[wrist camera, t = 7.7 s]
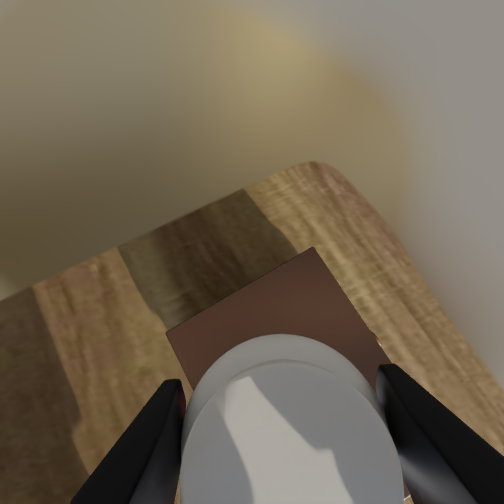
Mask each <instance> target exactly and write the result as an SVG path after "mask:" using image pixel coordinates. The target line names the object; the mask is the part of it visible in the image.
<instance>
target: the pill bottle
mask: <svg viewBox="0 0 504 504" xmlns="http://www.w3.org/2000/svg"><path fill="white" fill-rule="evenodd" d="M180 502H181V504H404V484H403V475H402V469H401V465H400V461H399V456H398V453H397V450H396V447H395V445H394V442H393V440H392V437H391V435H390V432H389V428H388V423H387V420H386V417H385V414H384V411H383V409H382V406H381V404H380V402H379V400H378V398H377V396H376V394H375V392H374V390H373V389H372V387H371V386H370V384H369V383H368V381H367V380H366V379H365V378H364V376H363V375H362V374H361V373H360V372H359V370H358V369H357V368H356V367H355V366H354V365H353V364H352V363H351V362H350V361H349V360H348V359H346V358H345V357H344V356H343V355H341V354H340V353H338V352H337V351H336V350H334V349H333V348H331V347H329V346H327V345H325V344H323V343H321V342H319V341H316V340H314V339H310V338H307V337H303V336H298V335H290V334H273V335H265V336H260V337H257V338H253V339H250V340H248V341H245V342H243V343H241V344H239V345H237V346H235V347H234V348H232V349H231V350H229V351H228V352H226V353H225V354H224V355H222V356H221V357H220V358H219V359H218V360H217V361H216V362H215V363H214V364H213V365H212V366H211V367H210V368H209V369H208V370H207V372H206V373H205V374H204V376H203V377H202V378H201V380H200V381H199V383H198V385H197V387H196V388H195V390H194V392H193V394H192V396H191V399H190V401H189V404H188V407H187V410H186V413H185V416H184V421H183V426H182V434H181V469H180Z"/></svg>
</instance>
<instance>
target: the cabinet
mask: <svg viewBox="0 0 504 504" xmlns="http://www.w3.org/2000/svg"><path fill="white" fill-rule="evenodd" d="M273 334H290V335H298V336H303V337H307V338H310V339H314V340H316V341H319V342H321V343H323V344H325V345H327V346H329V347H331V348H333V349H334V350H336V351H337V352H338V353H340V354H341V355H343V356H344V357H345V358H346V359H348V360H349V361H350V362H351V363H352V364H353V365H354V366H355V367H356V368H357V369H358V370H359V372H360V373H361V374H362V375H363V376H364V378H365V379H366V380H367V381H368V383H369V384H370V386H371V387H372V389H373V390H374V392H375V394H376V396H377V393H376V379H377V371H378V366H379V365H380V364H388V363H391V361H390V360H389V358H388V357H387V355H386V354H385V352H384V351H383V349H382V345H381V343H380V341H379V339H378V338H377V336H376V335H375V334H374V333H373V332H372V331H370V330H369V329H368V327H367V326H366V324H365V323H364V321H363V320H362V318H361V317H360V315H359V314H358V312H357V311H356V309H355V308H354V306H353V305H352V303H351V302H350V300H349V299H348V297H347V296H346V294H345V293H344V291H343V290H342V288H341V287H340V285H339V284H338V282H337V281H336V280H335V278H334V277H333V275H332V274H331V272H330V271H329V269H328V268H327V266H326V265H325V263H324V262H323V260H322V259H321V257H320V256H319V254H318V253H317V251H316V250H315V248H314V247H311V248H309V249H308V250H306V251H304V252H303V253H301V254H299V255H297V256H296V257H294V258H292V259H291V260H289V261H287V262H285V263H284V264H282V265H280V266H279V267H277V268H275V269H273V270H272V271H270V272H268V273H267V274H265V275H263V276H261V277H260V278H258V279H256V280H254V281H253V282H251V283H249V284H248V285H246V286H244V287H242V288H241V289H239V290H237V291H236V292H234V293H232V294H230V295H229V296H227V297H225V298H224V299H222V300H220V301H218V302H217V303H215V304H213V305H212V306H210V307H208V308H206V309H205V310H203V311H201V312H200V313H198V314H196V315H194V316H193V317H191V318H189V319H188V320H186V321H184V322H182V323H181V324H179V325H177V326H176V327H174V328H172V329H170V330H169V331H167V332H166V336H167V338H168V340H169V342H170V344H171V346H172V348H173V350H174V352H175V354H176V356H177V358H178V360H179V362H180V364H181V366H182V368H183V370H184V372H185V374H186V376H187V379H188V381H189V383H190V385H191V387H192V389H193V391H194V390H195V388H196V387H197V385H198V383H199V381H200V380H201V378H202V377H203V376H204V374H205V373H206V372H207V370H208V369H209V368H210V367H211V366H212V365H213V364H214V363H215V362H216V361H217V360H218V359H219V358H220V357H221V356H222V355H224V354H225V353H226V352H228V351H229V350H231V349H232V348H234V347H235V346H237V345H239V344H241V343H243V342H245V341H248V340H250V339H253V338H257V337H260V336H265V335H273ZM377 398H378V396H377ZM403 484H404V500H405V499H406V498H408V497H409V496H410V492H409V490H408V487H407V485H406V482H405V480H404V477H403Z"/></svg>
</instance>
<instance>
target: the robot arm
mask: <svg viewBox="0 0 504 504" xmlns="http://www.w3.org/2000/svg"><path fill="white" fill-rule="evenodd" d="M376 393H377V396H378V400H379V402H380V404H381V406H382V409H383V411H384V414H385V417H386V420H387V423H388V428H389V432H390V435H391V437H392V440H393V442H394V445H395V447H396V450H397V453H398V456H399V461H400V465H401V469H402V475H403V477H404V480H405V482H406V485H407V487H408V490H409V492H410V495H411V497H412V500H413V502H414V504H504V456H502V455H501V454H500V453H499V452H498V451H497V450H495V449H494V448H493V447H492V446H491V445H489V444H488V443H487V442H486V441H485V440H484V439H482V438H481V437H480V436H479V435H478V434H477V433H475V432H474V431H473V430H472V429H471V428H470V427H468V426H467V425H466V424H465V423H464V422H463V421H461V420H460V419H459V418H458V417H457V416H456V415H454V414H453V413H452V412H451V411H450V410H449V409H447V408H446V407H445V406H444V405H443V404H442V403H440V402H439V401H438V400H437V399H436V398H435V397H433V396H432V395H431V394H430V393H429V392H428V391H426V390H425V389H424V388H423V387H422V386H421V385H419V384H418V383H417V382H416V381H415V380H414V379H412V378H411V377H410V376H409V375H408V374H407V373H405V372H404V371H403V370H402V369H401V368H400V367H398V366H397V365H396V364H394V363H388V364H380V365H379V366H378V371H377V379H376ZM185 413H186V399H185V395H184V391H183V387H182V383H181V381H180V380H179V379H168V380H165V381H164V382H163V383H162V384H161V385H160V387H159V388H158V389H157V391H156V392H155V393H154V394H153V396H152V397H151V398H150V400H149V401H148V402H147V403H146V405H145V406H144V407H143V409H142V410H141V411H140V412H139V414H138V415H137V416H136V418H135V419H134V420H133V421H132V423H131V424H130V425H129V427H128V428H127V429H126V430H125V432H124V433H123V434H122V436H121V437H120V438H119V439H118V441H117V442H116V443H115V445H114V446H113V447H112V448H111V450H110V451H109V452H108V454H107V455H106V456H105V457H104V459H103V460H102V461H101V463H100V464H99V465H98V466H97V468H96V469H95V470H94V472H93V473H92V474H91V475H90V477H89V478H88V479H87V481H86V482H85V483H84V484H83V486H82V487H81V488H80V490H79V491H78V492H77V493H76V495H75V496H74V497H73V499H72V500H71V502H70V504H174V501H175V495H176V490H177V485H178V480H179V474H180V468H181V434H182V426H183V421H184V416H185Z"/></svg>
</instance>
